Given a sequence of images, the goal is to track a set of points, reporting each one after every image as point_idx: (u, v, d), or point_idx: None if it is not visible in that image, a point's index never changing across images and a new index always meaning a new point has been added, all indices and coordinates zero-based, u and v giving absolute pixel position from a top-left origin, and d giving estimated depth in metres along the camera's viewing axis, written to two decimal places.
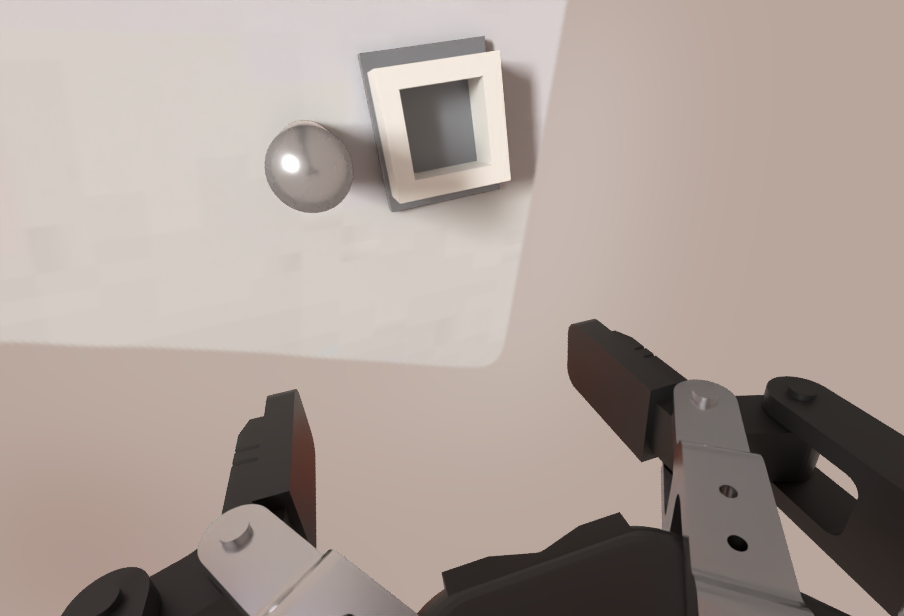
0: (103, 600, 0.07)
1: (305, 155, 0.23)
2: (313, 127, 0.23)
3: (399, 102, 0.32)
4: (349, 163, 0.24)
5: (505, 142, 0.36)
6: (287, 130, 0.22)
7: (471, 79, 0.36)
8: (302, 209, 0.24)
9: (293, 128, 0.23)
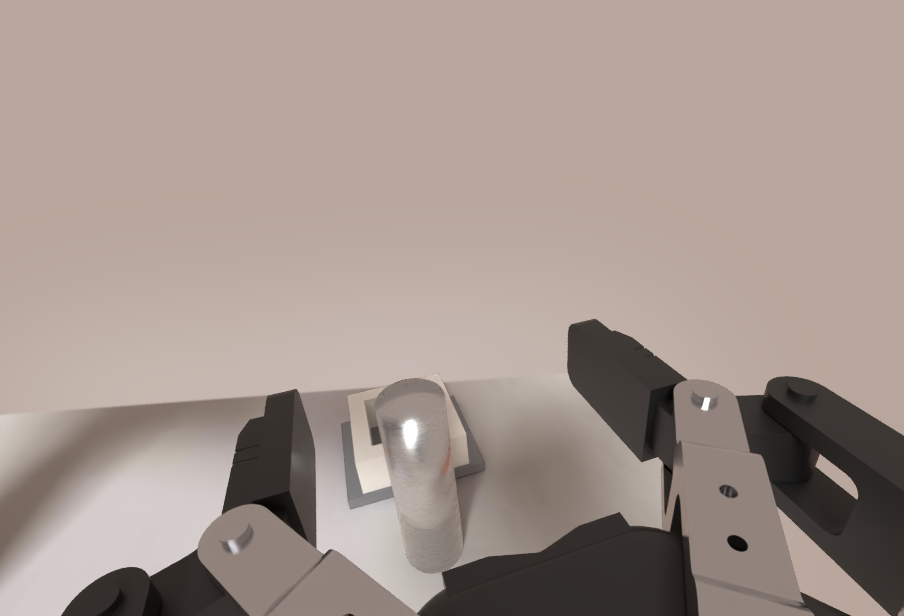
0: (103, 599, 0.07)
1: (397, 402, 0.28)
2: (376, 400, 0.28)
3: (381, 444, 0.38)
4: (403, 380, 0.30)
5: None
6: (377, 413, 0.27)
7: (369, 421, 0.45)
8: (442, 401, 0.27)
9: (376, 410, 0.27)
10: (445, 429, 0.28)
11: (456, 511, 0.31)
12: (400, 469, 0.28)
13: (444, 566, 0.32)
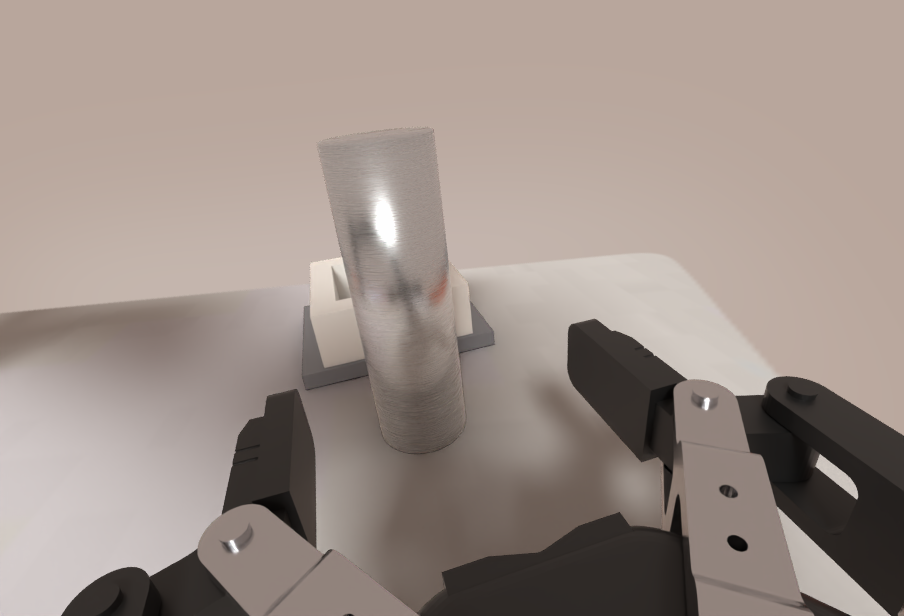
0: (104, 600, 0.07)
1: (355, 138, 0.17)
2: (321, 141, 0.17)
3: (350, 298, 0.27)
4: None
5: None
6: (320, 145, 0.16)
7: (340, 297, 0.34)
8: (429, 130, 0.17)
9: (318, 143, 0.16)
10: (434, 185, 0.17)
11: (455, 353, 0.21)
12: (362, 250, 0.17)
13: (437, 442, 0.21)
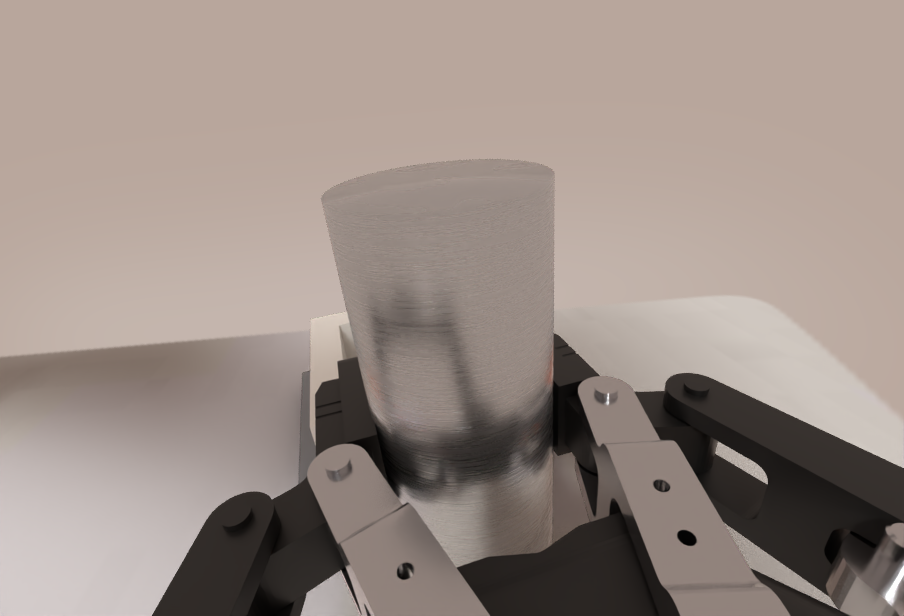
0: (238, 515, 0.08)
1: (398, 187, 0.08)
2: (330, 190, 0.09)
3: None
4: (416, 165, 0.10)
5: None
6: (329, 205, 0.08)
7: None
8: (547, 173, 0.08)
9: (326, 200, 0.08)
10: (552, 277, 0.09)
11: (551, 533, 0.12)
12: (409, 407, 0.09)
13: None
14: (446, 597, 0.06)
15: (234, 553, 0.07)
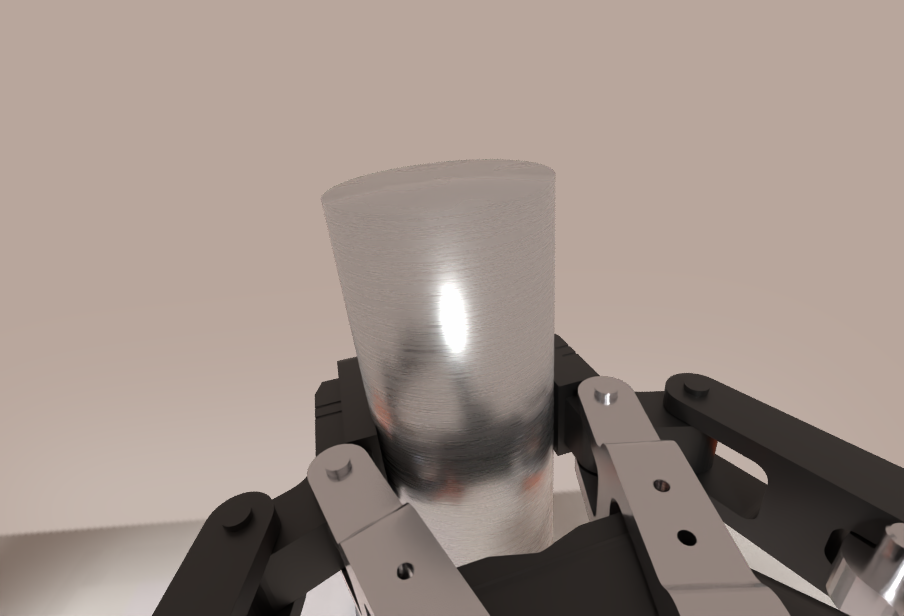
0: (238, 515, 0.08)
1: (398, 187, 0.08)
2: (330, 190, 0.09)
3: None
4: (416, 165, 0.10)
5: None
6: (329, 206, 0.08)
7: None
8: (548, 173, 0.08)
9: (326, 200, 0.08)
10: (553, 278, 0.09)
11: (551, 534, 0.12)
12: (409, 408, 0.09)
13: None
14: (446, 597, 0.06)
15: (234, 553, 0.07)
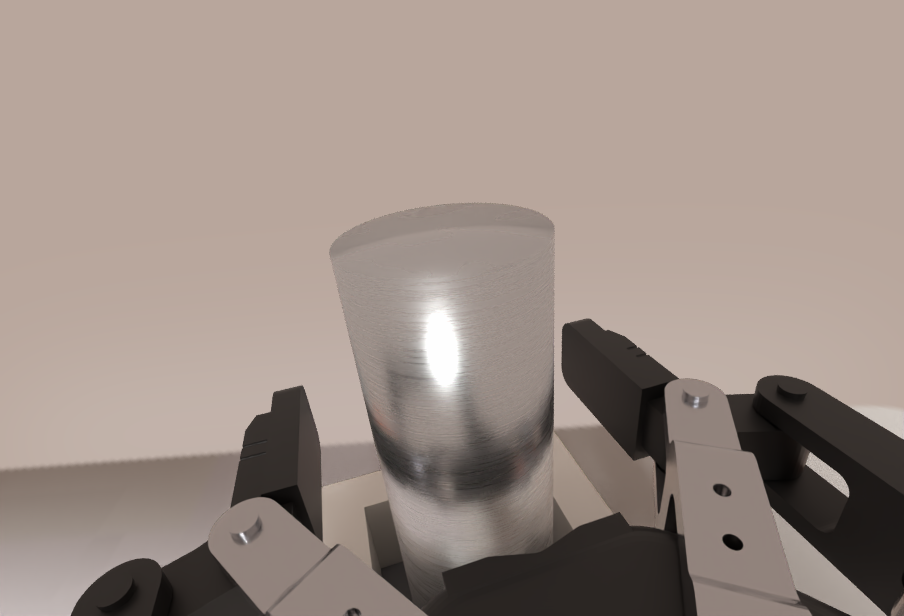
0: (116, 590, 0.07)
1: (403, 240, 0.09)
2: (337, 241, 0.09)
3: None
4: (419, 208, 0.11)
5: None
6: (338, 263, 0.08)
7: (379, 553, 0.17)
8: (548, 228, 0.09)
9: (334, 256, 0.08)
10: (552, 325, 0.09)
11: None
12: (414, 451, 0.09)
13: None
14: None
15: None
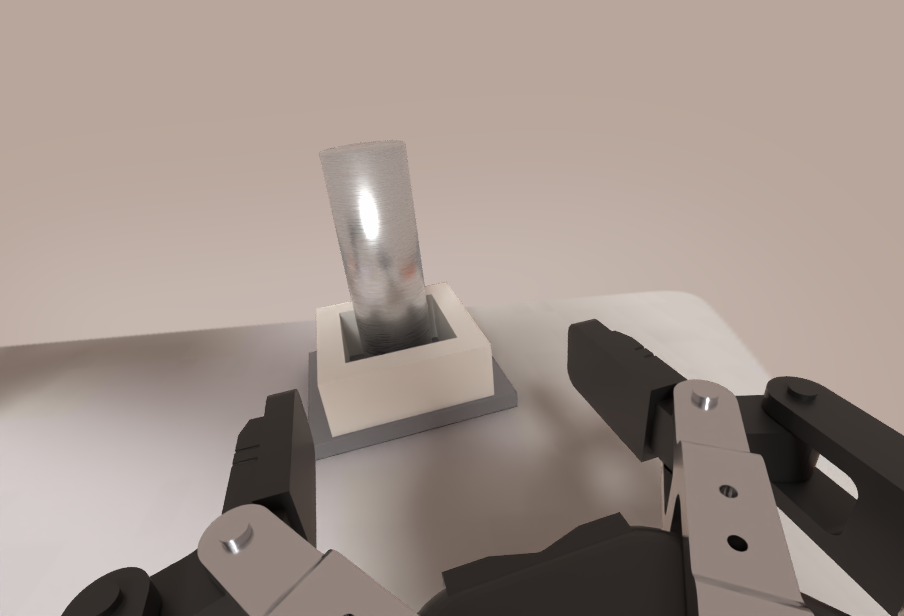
0: (103, 600, 0.07)
1: (347, 149, 0.23)
2: (322, 151, 0.23)
3: (361, 360, 0.25)
4: (359, 143, 0.25)
5: None
6: (321, 154, 0.22)
7: (348, 345, 0.31)
8: (401, 144, 0.23)
9: (320, 153, 0.22)
10: (405, 183, 0.23)
11: (424, 313, 0.27)
12: (351, 232, 0.23)
13: None
14: None
15: None
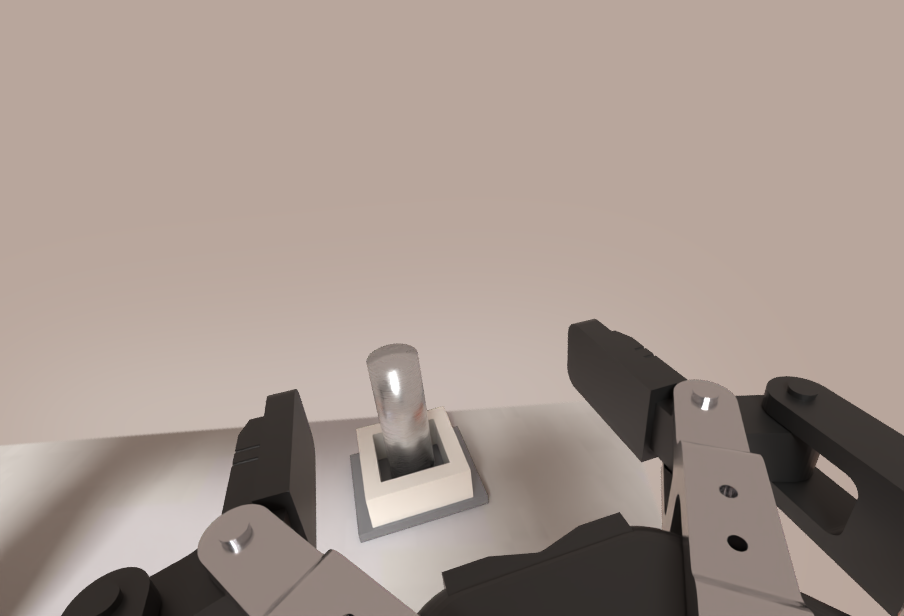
0: (103, 600, 0.07)
1: (383, 359, 0.38)
2: (368, 358, 0.39)
3: (390, 480, 0.40)
4: (388, 345, 0.40)
5: None
6: (368, 366, 0.38)
7: (377, 453, 0.47)
8: (415, 357, 0.38)
9: (367, 364, 0.38)
10: (418, 378, 0.39)
11: (429, 444, 0.42)
12: (385, 408, 0.38)
13: None
14: None
15: None
